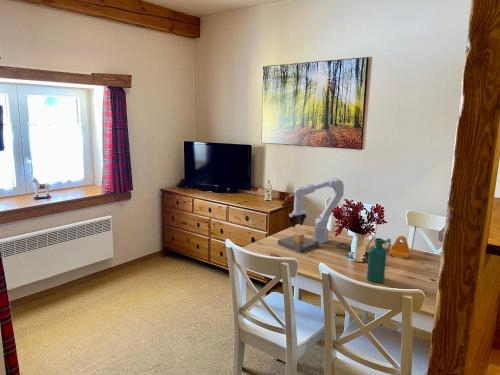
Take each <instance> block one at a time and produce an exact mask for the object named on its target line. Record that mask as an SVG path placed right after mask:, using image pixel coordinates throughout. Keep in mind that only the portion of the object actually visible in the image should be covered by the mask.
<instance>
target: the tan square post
mask: <svg viewBox="0 0 500 375" xmlns="http://www.w3.org/2000/svg"><path fill="white" fill-rule="evenodd" d="M293 234H294V235H293V236H294V242H297V243H302V242H304V237H305V234H304V233H302V232H296V233H293Z"/></svg>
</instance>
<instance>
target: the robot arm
mask: <svg viewBox="0 0 500 375" xmlns="http://www.w3.org/2000/svg"><path fill="white" fill-rule="evenodd" d="M327 187H329V188H332V189H333V193H334V194H333V196H332V197H331V198H330V200H329V202H328V204H327V205H326V206H325V208H324V210H323V212H322V213H320V214H319V215H318V217H316V218H315V219H314V225H315V227H314V234H313V235H314V238H313V239H312V240H314V241H317V242H319V245H322V244H325V243H327V242H330V240H329V229H328V228H327V226H328V222H329V219H330V217H331V215H332V214H333V212H332V210H333V209H334V208H335V209H336V208H337V206H338V204H339V203H340V202H341V200H342V198H343V196H344V188H345V184H344V182H343V181H342V180H340V179H339V178H338V177H333V178H329V179H325V180H324V181H320V182H318V183H315V184H312V183H307V185H304V186H300V187H296V188H295V189H294V190H293V194H294V200H293V211H292V212H291V213H289V214H288V218H289V220H290V224H291V227H292V228H295V227H296V222H297V219H298V222H299V224H298V225H299V226H303V224H304V222H305V219H306V218H307V210H304V209H303V207H304V206H303V204H304V196H307V195H310V194H313V193H315V191H316V190H319V189H323V188H327ZM335 209H334V210H335ZM297 216H298V218H297Z"/></svg>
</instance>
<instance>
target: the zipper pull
mask: <svg viewBox="0 0 500 375" xmlns="http://www.w3.org/2000/svg"><path fill="white" fill-rule="evenodd" d="M343 246H344V247H343ZM335 247H336V248H338V249H342V250H343V251H348V252H349V253H352V252H351V245H349V244H346V243H344V242H338V243H337V244H336V246H335ZM365 251H366V252H365V255H363V256H364V257H366V258H363V259H362V260H363V262H362V263H365V264H367V265H368V257H369V251H367V250H365Z"/></svg>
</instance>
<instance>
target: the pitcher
mask: <svg viewBox="0 0 500 375" xmlns="http://www.w3.org/2000/svg"><path fill="white" fill-rule="evenodd" d="M391 240H392V239H391V238H387V239H383V238H381V237H380V238H379V237H377V238H373V241H374V245H370V247H369V250H368V252H369V257H368V264H367V270H366V280H367V281H368V282H372V283H377V284H383V283H384V282H385V275H386V274H385V272H386V264H387V255H388V254H387V253H388V251H390V247H391V243H392V242H391ZM383 244H388V245H387V247H384V246H383Z"/></svg>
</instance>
